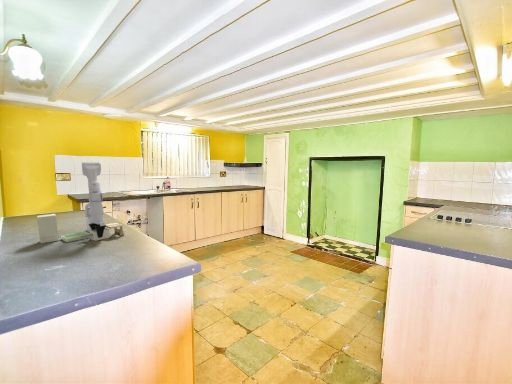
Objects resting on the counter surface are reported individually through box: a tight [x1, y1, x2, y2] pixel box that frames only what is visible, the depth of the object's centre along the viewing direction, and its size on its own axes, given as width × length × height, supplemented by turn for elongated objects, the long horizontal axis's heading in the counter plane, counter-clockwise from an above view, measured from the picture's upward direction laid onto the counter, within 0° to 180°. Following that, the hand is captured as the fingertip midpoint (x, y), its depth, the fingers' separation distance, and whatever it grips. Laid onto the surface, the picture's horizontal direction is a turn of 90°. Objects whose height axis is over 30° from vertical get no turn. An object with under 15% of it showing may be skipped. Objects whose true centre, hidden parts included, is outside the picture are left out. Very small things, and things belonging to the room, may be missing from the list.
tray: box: [60, 230, 91, 243], centre depth 150 cm, size 10×12×2 cm
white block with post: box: [81, 227, 111, 242], centre depth 148 cm, size 6×14×5 cm, turn 142°
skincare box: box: [36, 213, 60, 244], centre depth 144 cm, size 8×6×15 cm
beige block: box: [104, 222, 125, 237], centre depth 156 cm, size 9×8×7 cm
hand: (98, 236), depth 149 cm, fingers closed on white block with post, 6 cm apart
